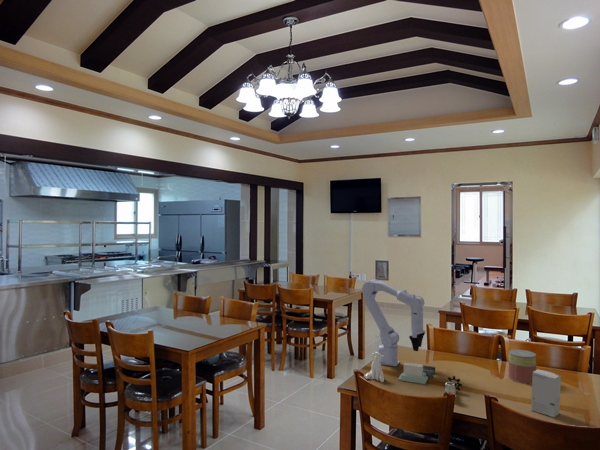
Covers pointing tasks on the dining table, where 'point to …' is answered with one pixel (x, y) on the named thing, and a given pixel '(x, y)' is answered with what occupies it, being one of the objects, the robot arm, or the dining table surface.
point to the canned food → (521, 365)
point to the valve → (452, 385)
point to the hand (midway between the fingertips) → (417, 348)
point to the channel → (429, 370)
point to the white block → (413, 369)
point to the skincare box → (546, 393)
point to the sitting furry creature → (376, 368)
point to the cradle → (414, 378)
